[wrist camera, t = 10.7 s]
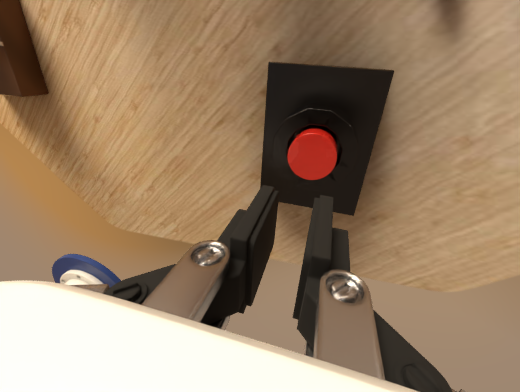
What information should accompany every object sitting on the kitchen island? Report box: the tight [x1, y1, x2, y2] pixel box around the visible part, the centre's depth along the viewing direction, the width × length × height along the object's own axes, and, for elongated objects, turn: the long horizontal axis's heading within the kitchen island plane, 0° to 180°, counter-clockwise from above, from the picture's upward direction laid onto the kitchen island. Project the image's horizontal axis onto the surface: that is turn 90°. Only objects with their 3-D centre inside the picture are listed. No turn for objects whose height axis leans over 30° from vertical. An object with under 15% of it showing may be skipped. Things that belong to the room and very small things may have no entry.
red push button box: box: [260, 62, 394, 216], centre depth 22 cm, size 12×9×5 cm
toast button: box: [287, 128, 337, 180], centre depth 19 cm, size 4×4×2 cm
